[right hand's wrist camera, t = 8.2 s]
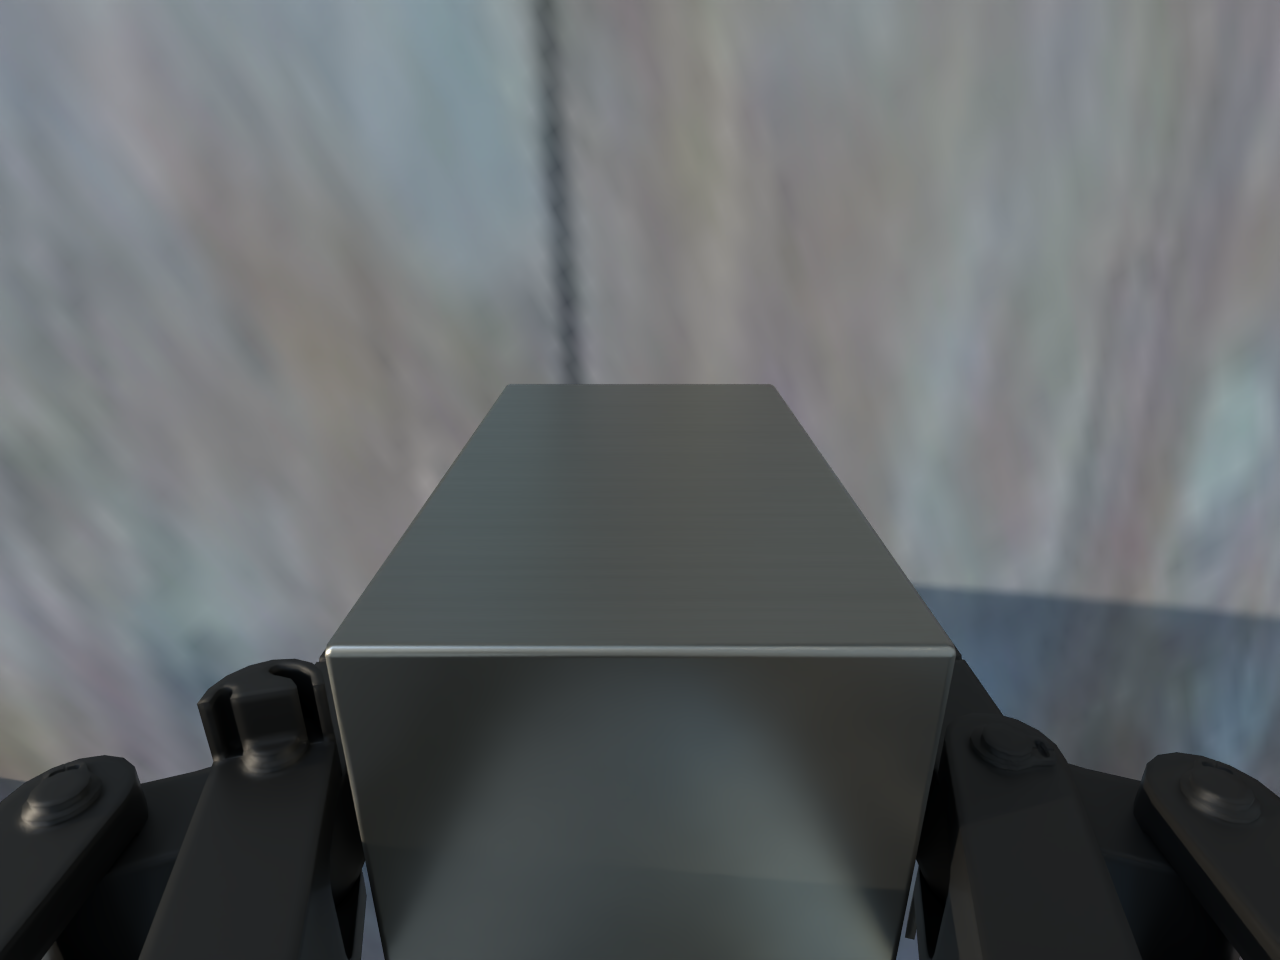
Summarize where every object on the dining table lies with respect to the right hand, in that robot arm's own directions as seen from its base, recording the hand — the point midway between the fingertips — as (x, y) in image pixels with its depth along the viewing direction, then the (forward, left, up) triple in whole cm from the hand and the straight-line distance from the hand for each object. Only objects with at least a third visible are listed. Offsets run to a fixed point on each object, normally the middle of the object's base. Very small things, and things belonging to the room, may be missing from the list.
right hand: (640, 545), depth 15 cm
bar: (+4, +7, 0) cm, 8 cm away
